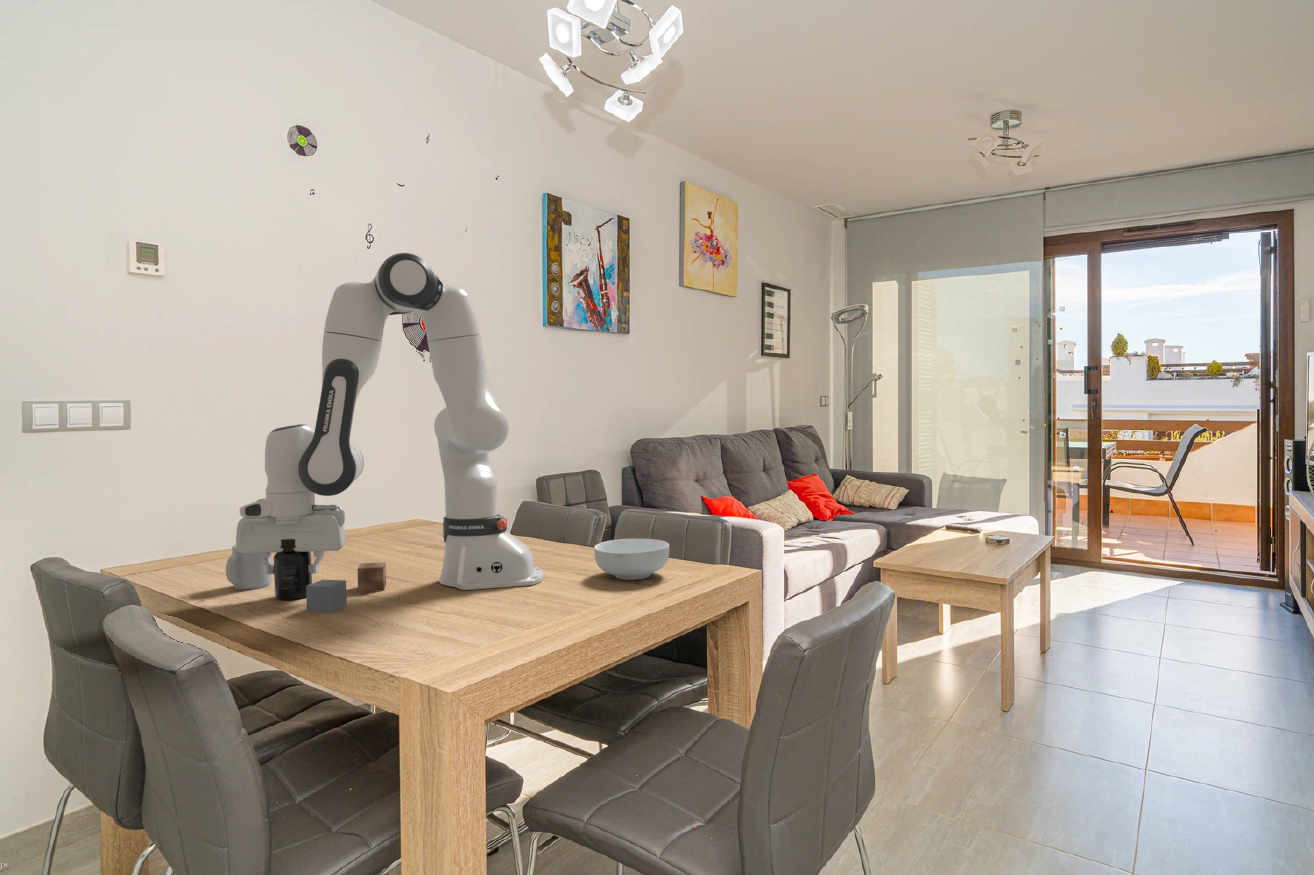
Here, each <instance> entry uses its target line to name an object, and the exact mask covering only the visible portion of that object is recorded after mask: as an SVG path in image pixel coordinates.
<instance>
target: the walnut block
mask: <svg viewBox="0 0 1314 875" xmlns="http://www.w3.org/2000/svg"><path fill="white" fill-rule="evenodd" d="M386 565H387V563H386V561H382V562H381V561H380V562H366V563H365V562H364V563H360V564H359V565H358V567H357V592H358V593H367V592H369V593H370V592H382V591H385V589H386V586H387V566H386Z"/></svg>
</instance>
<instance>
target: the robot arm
mask: <svg viewBox="0 0 1314 875" xmlns="http://www.w3.org/2000/svg"><path fill="white" fill-rule="evenodd" d="M413 312H415V313H416V314H417V315H418V316H419V317H420V319H421V320H422V322H423V324H424V327H425V333H426V340H427V346H428V352H429V357H430V362H431V367H432V373H433V378H434V381H435V382H436V384H437V385H438V389H439V391H440V392H441V395H442V398H443V401H444V404H445V407H443V409H442V410H440V411H439V413H438V414H437V415H436V417H435V419H434V422H433V428H434V433H435V436H436V439H437V443H438V451H439V457H440V463H441V467H442V473H443V480H444V506H445V507H444V508H445V510H444V513H445V515H444V516H443V522H442V538H443V542H444V553H443V562H442V566H441V571H440V572H441V573H440V576H439V579H438V583H440V584H441V585H444V586H448V587H453V588H457V589H458V590H463V591H467V590H468V591H469V590H481V589H482V590H483V589H493V588H494V589H496V588H507V587H508V588H509V587H519V586H520V587H522V586H533V585H536V584H538V583H540V582H542V580H544V577H545V574H544V569H542V568H541V567H537V566H535V564H534V559H533V554H532V552H531V549H530V547H529V546H528V545H526V544H525V543H523V542H522V541H520V540H519V539H518V538H517V537H515V536H514V535H513V534H511V533H510V532H509V531H507V530H508V523H507V522H508V520H507V517H506V516H502V515H501V514H498V487H497V486H498V485H497V484H498V482H497V477H496V475H495V473H494V469H493V466H492V462H491V458H490V453H491V452H492V451H495V450H496V449H499V447H501V446H502V445H503V444H504V443H505V441H506V439H507V438H508V435H509V431H510V430H509V421H508V419H507V417H506V415H505V414H504V412H503V411H502V409H501V407H500V404H499V402H498V399H497V396H496V394H495V391H494V388H493V386H492V383H491V380H490V376H489V374H488V370H487V367H486V361H485V360H486V359H485V354H484V350H483V344H482V338H481V333H480V328H479V323H478V319H477V316H476V315H477V314H476V312H475V309H474V306H473V303H472V301H471V298H470V296H469V294H468V292H467V291H466V290H465V289H463V288H460V287H458V286H456V285H455V286H453V285H444V284H443V281H442V280H441V279H440V278H439V277H438V275H437V274H436V273H435V271H434V270H433V268H431V266H430V264H428V262H426V260H424V259H423V258H421V257H420V256H419V255H416V254H413V253H409V252H398V253H396V254H393V255H390V256H389V257H387V258H386V259H385V260H384V261H383V262H382V264H381V265H380V266H379V268H378V270H377V272H376V274H375V275H374V277H373V279H372V280H371V281H370V282H366V283H363V282H358V281H352V282H351V281H350V282H346V283H342V284H340V285H339V286H338V287H336V288H335V290H334V292H333V294H332V297H331V300H330V303H329V306H328V310H327V313H326V318H325V323H324V330H323V335H322V336H323V338H322V345H321V347H322V349H321V366H322V368H321V369H322V370H321V371H322V373H321V375H322V376H321V392H320V399H319V403H318V410H317V414H316V415H317V416H316V421H315V427H314V428H315V429H313V428H312V427H311V426H310V425H308V424H302V423H301V424H293V425H288V426H282V427H277V428H275V429H273V430H272V431H269V433H268V434H267V437H266V441H265V448H264V472H265V475H266V478H267V484H266V488H265V498H261V499H258V500H256V501H254V502H251V503H248V504H244V505H243V506H241V507H240V508H239V516H240V517H241V519H240V520H239V521H238V522H237V525H236V526H237V527H236V534H235V545H236V547H237V549H238V550H239V552H240V553H260V559H261V561H262V562H263V564H264V565H265V566H266V574H267V575H272V576H273V575H274V562H273V561H272V559H271V560H270V558H269V556H271V557H272V553H277V552H282V551H283V548H280V546H281V540H282V539H295V546H296V548H293V549H294V550H295V551H298V552H310V553H311V552H312V553H313V557H314V558H315V559H314V562H311V564H310V565H308V569H309V571H308V572H309V574H312V575H313V574H318V573H319V571H320V563H321V562H322V559H323V558H324V556H325V552H337V551H338V552H339V551H340V550H342V549H343V548H344V547H345V545H346V542H347V541H346V538H347V537H346V531H345V527H344V524H345V520H346V519H345V518H346V517H345V516H346V515H345V514H346V513H345V511H344V510H343V509H342V508H341V507H340V506H338V505H337V504H329V505H328V504H327V505H326V504H316V497H315V496H316V495H318V496H324V497H331V496H336V495H339V494H341V493H343V492H344V491H346V490H347V489H348V488H349V487H350V486H351V485H352V484H353V483H354V482H355V481H356V480H357V479H358V478H359V477H360V476H361V474H362V473H363V469H364V466H365V460H364V456H363V453H362V452H361V450H360V449H359V448H358V447H357V446H356V445H354V444H353V443H351V442H350V441H351V435H352V434H351V433H352V428H353V421H354V416H355V415H354V414H355V409H356V403H357V399H358V397H359V394H360V392H361V390H362V388H363V387H364V386H365V385H366V383H367V382H368V381H369V380H370V379H371V377H373V375H374V373H375V371H376V368H377V366H378V363H379V360H380V356H381V350H382V344H383V338H384V337H383V336H384V328H385V323H386V322H387V319H388V317H389V316H393V315H395V316H396V315H405V314H409V313H413ZM315 494H316V495H315Z"/></svg>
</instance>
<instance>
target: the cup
mask: <svg viewBox="0 0 1314 875" xmlns="http://www.w3.org/2000/svg"><path fill="white" fill-rule="evenodd" d="M231 548H232V550H231V551H232V554H231V555H230V556H229V557H228V558H227V561H226V565H225V575H226V579H227V581H228V582H230V583H231V584H232V585H233V587H234V589H236V590H243V591H244V590H245V591H247V590H248V591H249V590H257V589H262V588H267V587H269V586H270V585H271V584H272V581H273V574H272V575H267V574H266V566H265V565H264V564H263V562H262V561H261V559H260V553H240V552H239V550H238V549H237V547H236V544H233V545H232V547H231ZM269 558H270V560H271V561H272V555H271V556H269Z"/></svg>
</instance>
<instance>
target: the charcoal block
mask: <svg viewBox="0 0 1314 875" xmlns="http://www.w3.org/2000/svg"><path fill="white" fill-rule="evenodd" d="M305 598H306V612H307V613H324V614H326V613H327V614H332V613H334V612H336V611H338V610H340V609H342V608H345V607H347V606H348V605H347V604H348V602H347V601H348V599H347V580H345V579H343V580H342V579H320V580H317V581H315V582H312V584H310V585H307V586H306V597H305Z"/></svg>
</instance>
